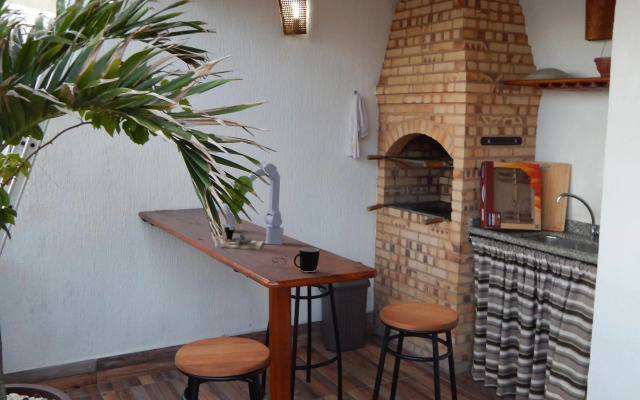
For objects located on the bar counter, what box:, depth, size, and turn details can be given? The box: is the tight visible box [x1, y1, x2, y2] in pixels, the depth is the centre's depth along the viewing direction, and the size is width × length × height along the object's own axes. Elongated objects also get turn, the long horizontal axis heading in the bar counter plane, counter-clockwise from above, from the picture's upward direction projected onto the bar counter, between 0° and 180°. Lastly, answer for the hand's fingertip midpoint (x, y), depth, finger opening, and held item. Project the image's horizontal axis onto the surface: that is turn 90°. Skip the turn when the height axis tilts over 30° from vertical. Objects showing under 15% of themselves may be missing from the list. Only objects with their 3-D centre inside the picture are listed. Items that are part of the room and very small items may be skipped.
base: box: [219, 232, 264, 251], centre depth 362 cm, size 20×20×6 cm
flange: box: [224, 236, 253, 243], centre depth 361 cm, size 14×10×1 cm
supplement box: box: [218, 208, 227, 233], centre depth 402 cm, size 8×5×13 cm, turn 143°
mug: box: [293, 247, 320, 271], centre depth 308 cm, size 12×9×10 cm
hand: (229, 241), depth 361 cm, fingers closed, pressing on flange
